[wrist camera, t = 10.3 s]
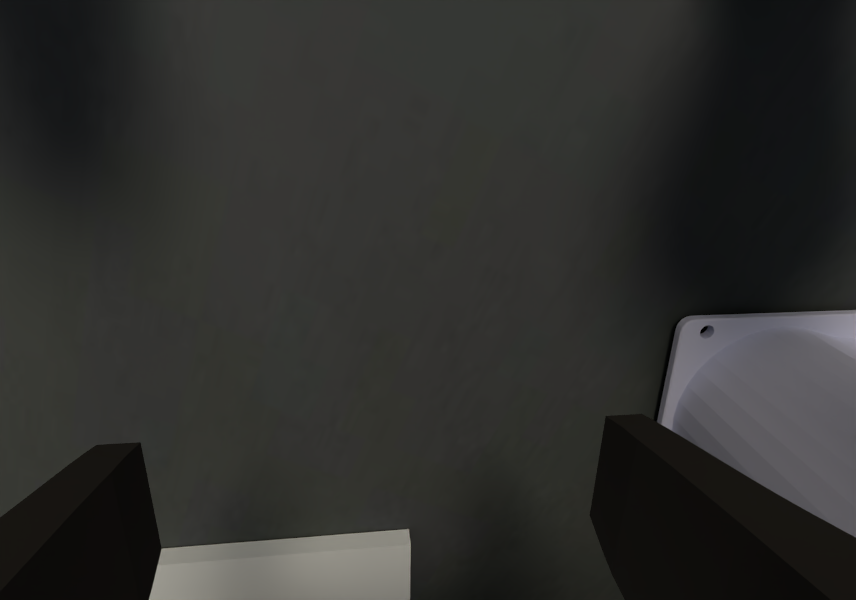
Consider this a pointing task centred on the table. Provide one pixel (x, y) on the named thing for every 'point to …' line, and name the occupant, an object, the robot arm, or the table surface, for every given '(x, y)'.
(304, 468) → the table surface
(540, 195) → the table surface
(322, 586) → the pad
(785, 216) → the table surface
